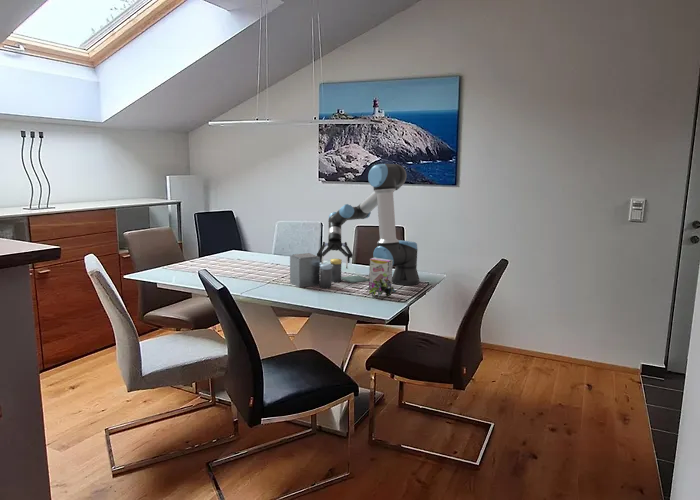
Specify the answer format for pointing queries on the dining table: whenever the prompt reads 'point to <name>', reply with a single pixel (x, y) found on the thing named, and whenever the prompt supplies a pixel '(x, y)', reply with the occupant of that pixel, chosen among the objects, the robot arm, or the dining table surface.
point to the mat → (354, 279)
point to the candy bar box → (380, 270)
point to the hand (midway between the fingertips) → (334, 267)
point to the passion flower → (382, 287)
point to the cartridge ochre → (336, 270)
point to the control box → (304, 270)
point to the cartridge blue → (325, 275)
